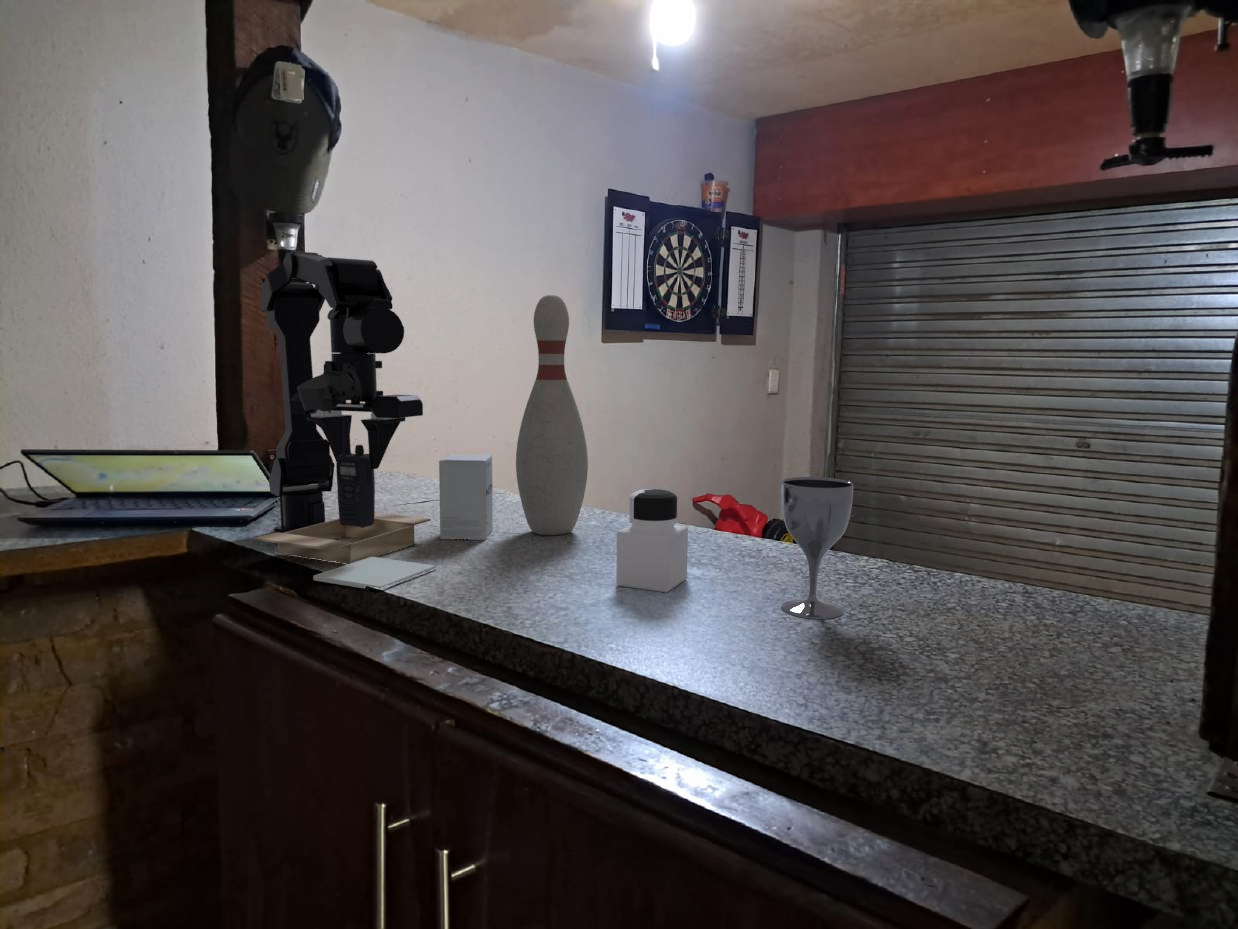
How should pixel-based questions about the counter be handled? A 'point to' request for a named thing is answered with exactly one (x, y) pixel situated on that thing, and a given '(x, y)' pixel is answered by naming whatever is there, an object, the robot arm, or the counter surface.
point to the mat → (373, 572)
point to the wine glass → (815, 531)
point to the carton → (320, 537)
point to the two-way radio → (355, 484)
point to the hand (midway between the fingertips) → (358, 467)
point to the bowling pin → (551, 433)
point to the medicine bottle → (652, 543)
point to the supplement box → (466, 497)
